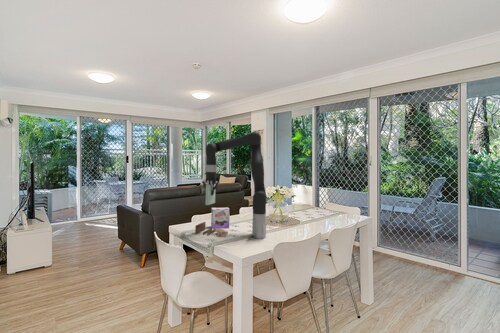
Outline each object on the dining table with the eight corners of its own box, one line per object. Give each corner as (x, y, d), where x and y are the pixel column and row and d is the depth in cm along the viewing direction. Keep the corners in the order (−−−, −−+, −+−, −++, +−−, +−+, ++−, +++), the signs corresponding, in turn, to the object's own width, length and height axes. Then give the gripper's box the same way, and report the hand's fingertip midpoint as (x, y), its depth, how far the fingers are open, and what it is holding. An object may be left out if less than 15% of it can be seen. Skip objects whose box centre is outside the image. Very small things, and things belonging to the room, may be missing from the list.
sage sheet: (215, 202, 207) (215, 183, 207) (207, 205, 197) (208, 185, 196) (212, 202, 208) (213, 183, 207) (205, 204, 198) (205, 185, 197)
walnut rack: (216, 232, 209) (216, 223, 208) (207, 237, 197) (208, 227, 197) (203, 231, 212) (204, 221, 212) (195, 235, 201) (195, 225, 200)
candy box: (211, 230, 215) (211, 208, 215) (210, 228, 221) (211, 207, 220) (229, 229, 218) (229, 208, 217) (228, 227, 224) (228, 207, 223)
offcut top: (221, 230, 206) (221, 228, 206) (227, 234, 197) (227, 231, 197) (215, 231, 203) (215, 228, 203) (221, 234, 195) (221, 232, 195)
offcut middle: (225, 233, 205) (225, 230, 205) (224, 237, 195) (224, 234, 195) (218, 233, 205) (218, 230, 205) (217, 237, 195) (217, 234, 195)
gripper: (222, 171, 203) (221, 195, 203) (205, 170, 207) (204, 193, 208) (217, 171, 196) (216, 196, 196) (200, 170, 200) (199, 195, 201)
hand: (210, 195), depth 202 cm, fingers closed on sage sheet, 2 cm apart
